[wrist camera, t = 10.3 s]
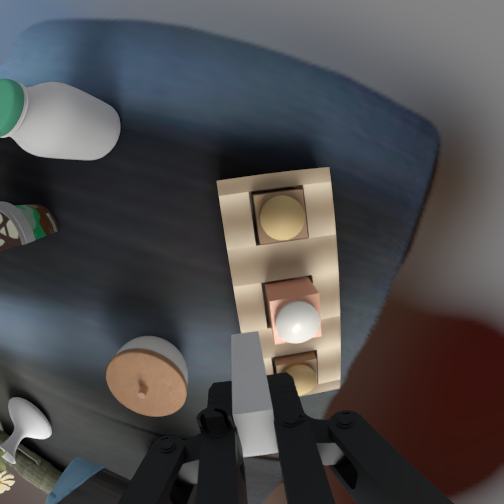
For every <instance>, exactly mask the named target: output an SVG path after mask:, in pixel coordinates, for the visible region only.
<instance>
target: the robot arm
mask: <svg viewBox="0 0 504 504" xmlns="http://www.w3.org/2000/svg"><path fill="white" fill-rule="evenodd" d="M231 361H232V381H226V382H218V383H213V385H212V386H211V387H210V389H209V393H208V405H207V408H206V409H204V410H202V411H201V412H200V413H199V414H198V416H197V418H196V419H197V422H198V425H199V428H200V430H201V433H200V434H199V435H197V436H195V437H193V438H190V439H186V440H181V439H180V438H179V437H177V436H173V435H167V436H163V437H160V438H158V439H157V440H155V442H154V443H153V444H152V446H151V447H150V449H149V451H148V452H147V454H146V456H145V457H144V459H143V461H142V463H141V464H140V466H139V468H138V469H137V471H136V473H135V474H134V476H133V478H132V480H129V479H127V478H125V477H122V476H120V475H118V474H116V473H114V472H112V471H110V470H108V469H106V468H105V467H104V466H100V465H98V464H96V463H94V462H92V461H89V460H87V459H85V458H81V457H79V458H75V459H74V460H73V461H72V462H71V463H70V464H69V465H68V466H67V468H66V469H65V471H64V472H63V473H62V475H61V476H60V478H59V479H58V481H57V482H56V484H55V485H54V487H53V489H52V491H51V492H50V494H49V495H48V497H47V499H46V502H45V503H46V504H248V499H247V486H246V473H245V465H244V461H243V456H244V457H250V456H258V455H265V454H272V453H279V459H280V466H281V471H282V477H283V482H284V487H285V493H286V498H287V503H288V504H335V501H334V498H333V495H332V492H331V489H330V485H329V482H328V479H327V476H326V473H325V470H324V466H323V465H329V467H330V469H331V470H332V471H333V473H334V474H335V475H336V477H337V478H338V479H339V481H340V482H341V483H342V485H343V486H344V487H345V489H346V490H347V491H348V492H349V494H350V495H351V496H352V498H353V499H354V500H355V501H356V503H357V504H454V503H452V502H451V501H450V500H449V499H448V498H447V497H446V496H445V495H444V494H442V493H441V492H440V491H439V490H438V489H437V488H436V487H435V486H434V485H433V484H432V483H430V482H429V481H428V480H427V479H426V478H425V477H424V476H423V475H422V474H421V473H420V472H419V471H418V470H416V469H415V468H414V467H413V466H412V465H411V464H410V463H409V462H408V461H407V460H406V459H405V458H404V457H403V456H402V455H401V454H400V453H399V452H397V451H396V450H395V449H394V448H393V447H392V446H391V445H390V444H389V443H388V442H387V441H386V440H385V439H384V438H383V437H382V436H381V435H380V434H379V433H378V432H377V431H376V430H375V429H374V428H373V427H372V426H371V425H370V424H368V422H367V421H366V420H365V419H364V418H362V416H361V415H359V414H358V413H356V412H353V411H341V412H337V413H335V414H334V415H333V416H331V418H330V419H329V420H318V419H313V418H311V417H309V416H307V415H306V414H305V413H304V411H303V408H302V405H301V402H300V398H299V395H298V392H297V389H296V386H295V383H294V379H293V377H292V376H291V375H290V374H288V373H287V372H283V373H277V374H271V375H266V370H265V365H264V360H263V354H262V349H261V344H260V338H259V333H258V331H255V332H248V333H241V334H234V335H231Z"/></svg>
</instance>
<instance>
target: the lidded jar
mask: <svg viewBox="0 0 504 504" xmlns="http://www.w3.org/2000/svg"><path fill="white" fill-rule="evenodd" d="M106 381H107V384H108V387H109V389H110V391H111V392H112V394H113V395H114V396H115V398H116V399H117V400H118V401H119V402H120V403H121V404H123V405H124V406H125V407H127V408H129V409H130V410H132V411H134V412H136V413H139V414H142V415H146V416H154V417H161V416H166V415H170V414H172V413H174V412H176V411H178V410H179V409H180V408H181V407H182V406H183V404H184V402H185V400H186V397H187V387H188V370H187V365H186V362H185V360H184V358H183V356H182V354H181V353H180V351H179V350H178V349H177V348H176V347H175V346H174V345H173V344H171V343H170V342H168V341H167V340H165V339H162V338H159V337H155V336H141V337H137V338H134V339H132V340H130V341H129V342H127V343H126V344H125V345H123V346H122V347H121V348H120V349H119V351H118V352H117V353H116V355H115V356H114V357H113V358H112V359H111V361H110V363H109V364H108V366H107V370H106Z"/></svg>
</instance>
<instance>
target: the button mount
mask: <svg viewBox="0 0 504 504" xmlns="http://www.w3.org/2000/svg"><path fill="white" fill-rule="evenodd" d="M217 188H218V194H219V201H220V208H221V214H222V221H223V227H224V233H225V240H226V246H227V252H228V258H229V264H230V270H231V277H232V282H233V288H234V294H235V300H236V306H237V312H238V318H239V323H240V329H241V333H248V332H255V331H258V333H259V338H260V344H261V349H262V354H263V360H264V365H265V370H266V375H271V374H275V367H274V359H273V357H278V356H284V355H290V354H296V353H301V352H307V351H312V350H313V351H314V354H315V356H316V358H317V383H318V389H314V390H311V391H310V392H308V393H306V394H304V395H310V394H315V393H320V392H324V391H329V390H333V389H338V388H340V363H341V338H340V295H339V273H338V256H337V241H336V228H335V217H334V206H333V196H332V187H331V178H330V170H329V167H325V168H314V169H304V170H295V171H286V172H277V173H269V174H261V175H254V176H247V177H240V178H233V179H226V180H219V181H217ZM287 188H298V189H303V196H304V205H305V214H306V223H307V233H308V238H302V239H295V240H288V241H281V242H274V243H267V244H260V242H259V240H258V237H257V232H256V224H255V217H254V210H253V203H252V196H251V193H257V192H264V191H272V190H279V189H287ZM307 277H308V278H309V279H310V281H311V282H312V284H313V285H314V286H315V288H316V289H317V291H318V292H319V298H320V315H321V335H322V336H321V337H316V338H311V339H309V340H308V341H305V342H303V343H289V342H288V343H282V344H276V345H275V343H274V339H273V335H272V330H271V326H270V320H269V313H268V305H267V297H266V290H265V284H269V283H275V282H282V281H288V280H294V279H301V278H307ZM304 395H300V396H304Z"/></svg>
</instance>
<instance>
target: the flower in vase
mask: <svg viewBox="0 0 504 504" xmlns="http://www.w3.org/2000/svg"><path fill="white" fill-rule="evenodd" d="M8 409H9V413H10V416H11V419H12V421H13V424H14V431H13V433H12V435H11V436H10V437H9V439H8V440H7V441H6V442H4V443H3V444H1V445H0V493H3V492H4V491H5V490H10V488H9V486H11V485H13V483H15V481H14V480H13V479H12V478H14V475H12V474H11V473H7V472H8V471H5V469H6V467H5V464H4V461H3V459H2V457H3V458H4V459H5V460H6V461H8V462H10V463H12V464H15V463H16V461H15V452H16V449H17V447H18V445H19V443H20V442H21V440H22V439H23V438H25V437H30V438H35V439H46V438H48V437H50V436H51V434H52V430H51V426H50V423H49V421H48V420H47V418H46V417H45V415H44V414H43V413H42V412H41V411H40V410H39V409H38V408H37V407H36V406H35V405H33V404H32V403H30V402H29V401H27V400H25V399H23V398H20V397H13V398H11V399H10V400H9V404H8Z"/></svg>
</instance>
